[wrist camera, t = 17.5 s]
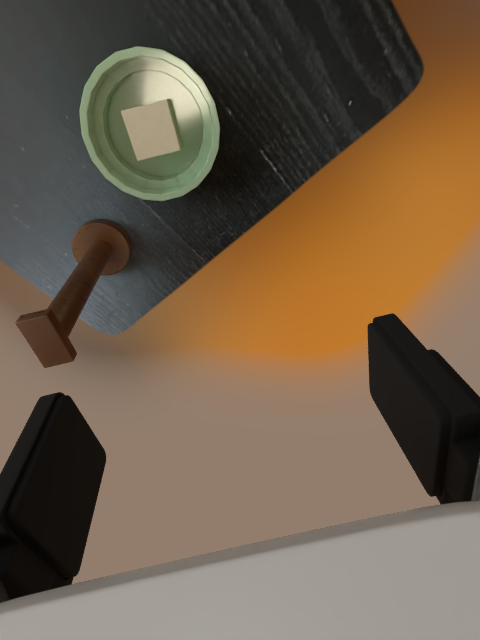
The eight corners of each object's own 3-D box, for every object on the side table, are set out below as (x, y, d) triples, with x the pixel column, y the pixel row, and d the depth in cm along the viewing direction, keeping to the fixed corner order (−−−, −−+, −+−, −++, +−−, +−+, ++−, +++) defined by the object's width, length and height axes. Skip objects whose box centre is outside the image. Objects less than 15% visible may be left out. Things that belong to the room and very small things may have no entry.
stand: (89, 275, 43) (25, 384, 27) (65, 226, 40) (-23, 316, 24) (139, 263, 43) (105, 366, 27) (119, 213, 40) (67, 295, 24)
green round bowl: (121, 200, 39) (112, 213, 35) (72, 70, 33) (54, 67, 29) (228, 174, 39) (232, 184, 35) (198, 38, 33) (199, 30, 28)
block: (142, 154, 36) (137, 161, 33) (127, 109, 34) (120, 110, 31) (182, 145, 36) (180, 150, 33) (169, 98, 34) (166, 99, 31)
